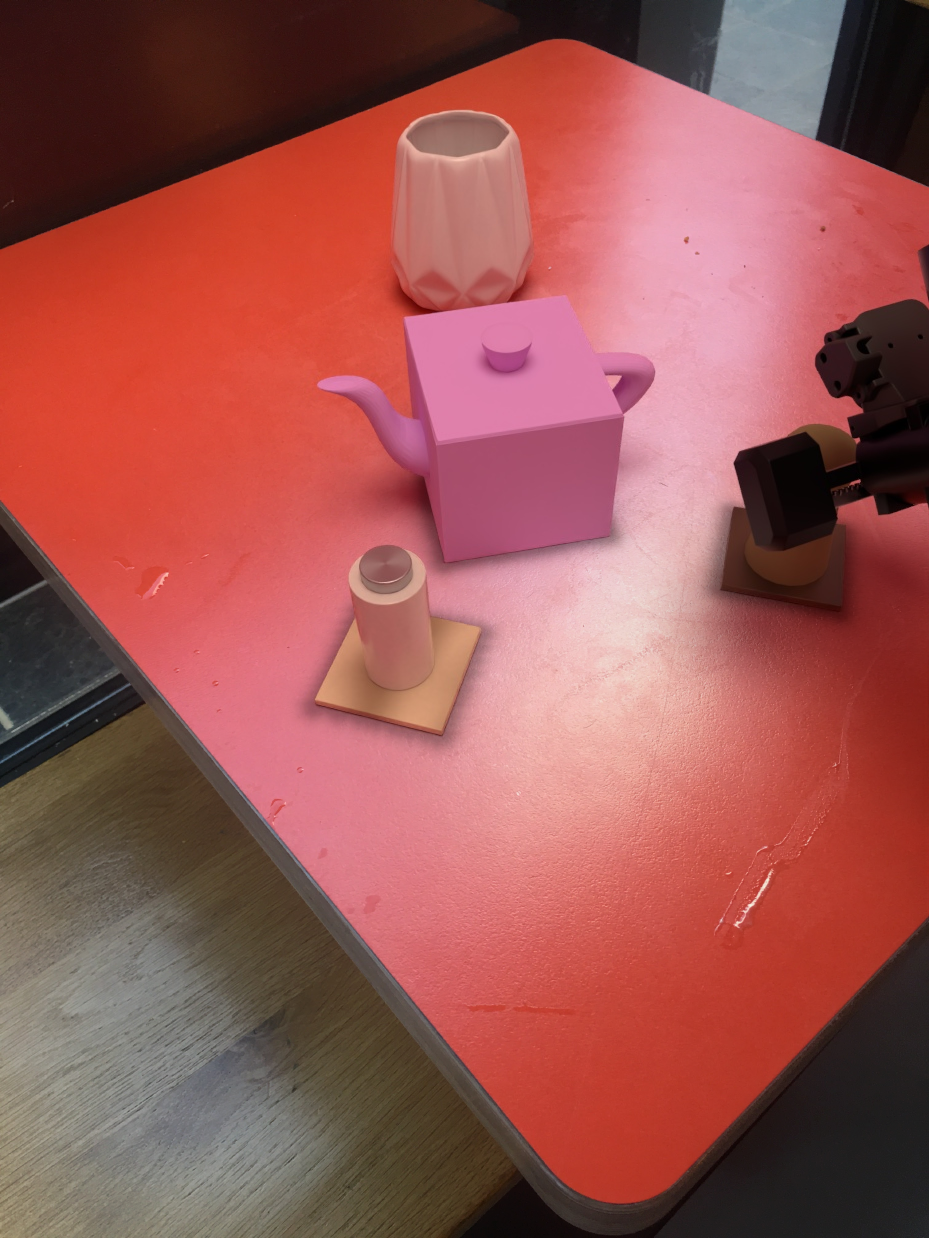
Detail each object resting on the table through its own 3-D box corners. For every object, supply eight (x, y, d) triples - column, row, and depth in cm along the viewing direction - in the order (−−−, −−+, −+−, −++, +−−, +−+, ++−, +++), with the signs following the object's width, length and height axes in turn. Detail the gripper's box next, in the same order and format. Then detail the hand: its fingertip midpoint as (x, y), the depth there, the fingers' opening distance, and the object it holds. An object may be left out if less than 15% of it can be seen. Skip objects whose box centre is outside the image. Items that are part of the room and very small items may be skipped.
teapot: (331, 449, 79) (303, 302, 68) (614, 406, 82) (630, 257, 71) (351, 578, 70) (322, 431, 59) (670, 526, 72) (699, 375, 61)
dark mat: (843, 530, 71) (846, 524, 71) (840, 611, 66) (842, 606, 66) (732, 511, 73) (733, 506, 72) (720, 589, 68) (721, 584, 67)
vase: (497, 238, 100) (496, 88, 89) (556, 304, 92) (564, 147, 80) (375, 270, 97) (357, 118, 86) (425, 340, 89) (413, 183, 77)
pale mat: (481, 632, 66) (481, 626, 66) (442, 735, 61) (441, 730, 60) (363, 606, 68) (362, 601, 68) (315, 704, 63) (314, 699, 62)
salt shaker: (448, 652, 64) (440, 553, 56) (409, 701, 62) (395, 604, 54) (391, 625, 66) (376, 525, 58) (351, 672, 63) (329, 573, 56)
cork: (843, 552, 69) (890, 436, 60) (801, 599, 66) (844, 484, 58) (771, 515, 72) (807, 398, 63) (728, 558, 69) (759, 442, 60)
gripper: (1089, 249, 50) (889, 324, 65) (791, 334, 46) (653, 393, 61) (1131, 451, 51) (926, 479, 66) (846, 551, 47) (697, 556, 62)
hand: (804, 473), depth 64 cm, fingers open, 9 cm apart
